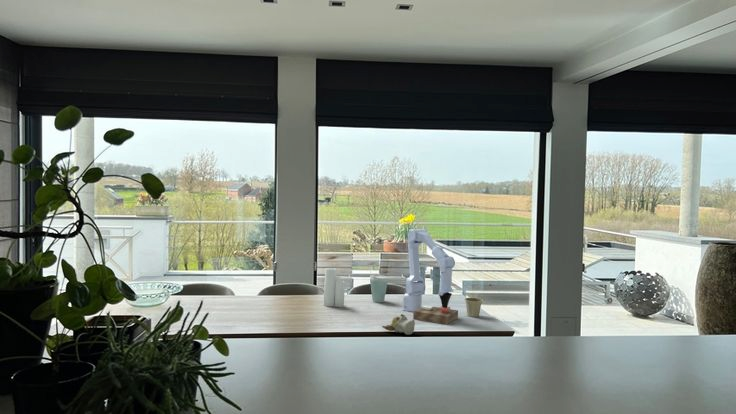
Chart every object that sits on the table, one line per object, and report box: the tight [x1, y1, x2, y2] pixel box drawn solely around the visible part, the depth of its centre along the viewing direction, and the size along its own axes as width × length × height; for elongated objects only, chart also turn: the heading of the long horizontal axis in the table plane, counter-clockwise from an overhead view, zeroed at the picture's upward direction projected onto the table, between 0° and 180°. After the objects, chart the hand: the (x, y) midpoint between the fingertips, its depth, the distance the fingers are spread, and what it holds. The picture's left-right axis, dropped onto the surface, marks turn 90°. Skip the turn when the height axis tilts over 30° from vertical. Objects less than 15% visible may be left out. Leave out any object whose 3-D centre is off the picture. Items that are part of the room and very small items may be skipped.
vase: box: [323, 267, 346, 308], centre depth 302 cm, size 11×7×20 cm, turn 86°
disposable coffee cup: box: [369, 274, 389, 304], centre depth 317 cm, size 11×11×15 cm
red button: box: [438, 305, 451, 313], centre depth 279 cm, size 4×4×5 cm
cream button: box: [421, 305, 435, 310], centre depth 283 cm, size 4×4×5 cm
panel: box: [412, 306, 459, 325], centre depth 281 cm, size 18×16×4 cm
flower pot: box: [464, 297, 484, 318], centre depth 291 cm, size 9×9×9 cm
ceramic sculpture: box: [381, 313, 416, 336], centre depth 252 cm, size 11×9×15 cm
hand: (444, 307), depth 279 cm, fingers closed, pressing on red button
